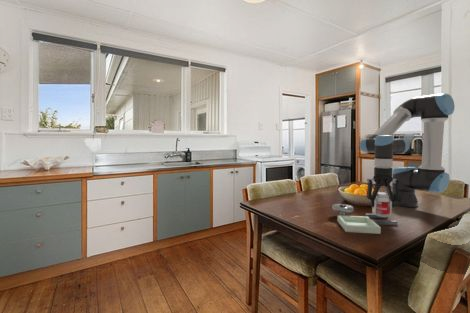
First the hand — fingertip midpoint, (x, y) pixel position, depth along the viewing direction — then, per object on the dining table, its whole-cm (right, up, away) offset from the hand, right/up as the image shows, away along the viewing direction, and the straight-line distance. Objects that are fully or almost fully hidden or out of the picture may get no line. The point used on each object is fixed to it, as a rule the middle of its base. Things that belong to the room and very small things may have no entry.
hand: (381, 213), depth 117 cm
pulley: (-17, -3, +6) cm, 18 cm away
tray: (-16, -4, -8) cm, 18 cm away
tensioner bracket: (-1, -4, 0) cm, 4 cm away
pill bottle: (0, -1, 0) cm, 1 cm away
